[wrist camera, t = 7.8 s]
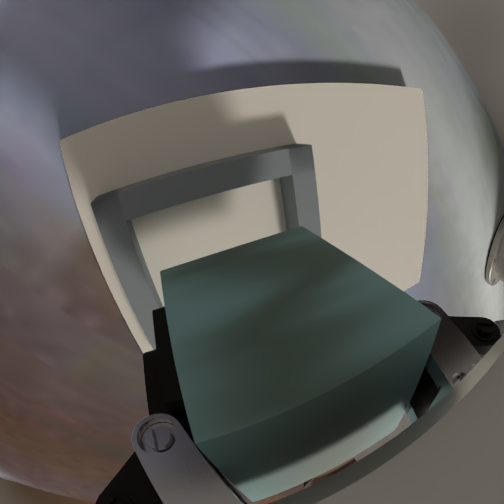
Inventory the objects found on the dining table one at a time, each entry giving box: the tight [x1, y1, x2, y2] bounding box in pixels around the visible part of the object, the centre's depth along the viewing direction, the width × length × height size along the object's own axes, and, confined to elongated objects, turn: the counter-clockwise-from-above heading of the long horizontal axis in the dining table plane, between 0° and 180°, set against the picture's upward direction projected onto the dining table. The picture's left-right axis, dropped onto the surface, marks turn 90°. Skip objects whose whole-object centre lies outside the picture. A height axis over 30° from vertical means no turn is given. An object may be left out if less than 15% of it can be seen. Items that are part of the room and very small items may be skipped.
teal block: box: [160, 226, 441, 502], centre depth 8 cm, size 5×5×6 cm
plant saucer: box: [304, 457, 357, 489], centre depth 37 cm, size 18×18×3 cm
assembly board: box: [59, 83, 428, 354], centre depth 15 cm, size 22×16×3 cm
